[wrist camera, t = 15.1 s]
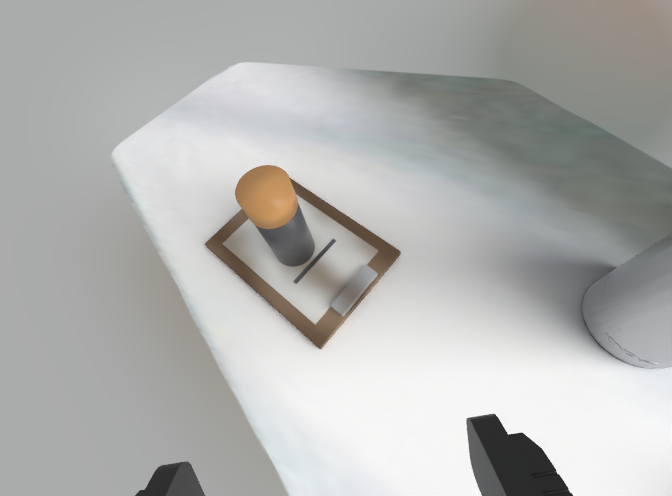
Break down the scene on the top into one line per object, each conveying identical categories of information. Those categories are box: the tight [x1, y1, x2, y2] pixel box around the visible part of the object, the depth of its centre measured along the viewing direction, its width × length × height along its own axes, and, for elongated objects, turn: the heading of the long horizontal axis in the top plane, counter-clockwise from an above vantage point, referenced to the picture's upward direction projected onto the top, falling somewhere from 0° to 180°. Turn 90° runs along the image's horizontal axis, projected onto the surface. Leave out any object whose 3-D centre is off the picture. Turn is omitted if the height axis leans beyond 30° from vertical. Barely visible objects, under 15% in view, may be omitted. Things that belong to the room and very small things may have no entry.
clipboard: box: [205, 178, 400, 349], centre depth 40 cm, size 14×20×2 cm
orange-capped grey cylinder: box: [235, 165, 315, 267], centre depth 35 cm, size 5×5×12 cm
